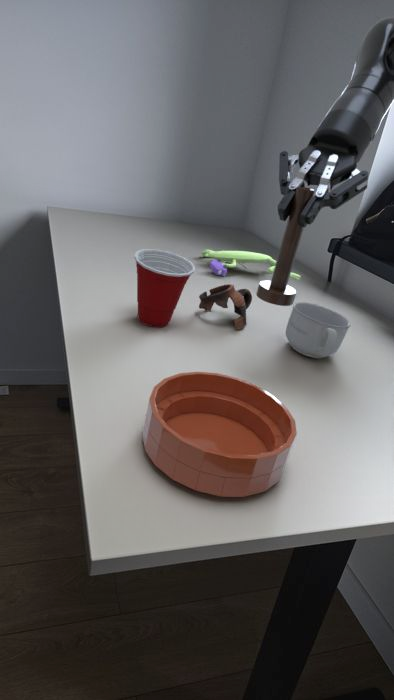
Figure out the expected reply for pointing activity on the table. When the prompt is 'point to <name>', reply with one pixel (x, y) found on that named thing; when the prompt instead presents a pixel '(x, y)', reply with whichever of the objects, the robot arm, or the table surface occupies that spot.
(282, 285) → the brown rod with base
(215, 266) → the figurine
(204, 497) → the table surface
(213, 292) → the brown curved piece
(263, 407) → the bowl
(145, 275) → the plastic cup
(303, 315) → the teacup
